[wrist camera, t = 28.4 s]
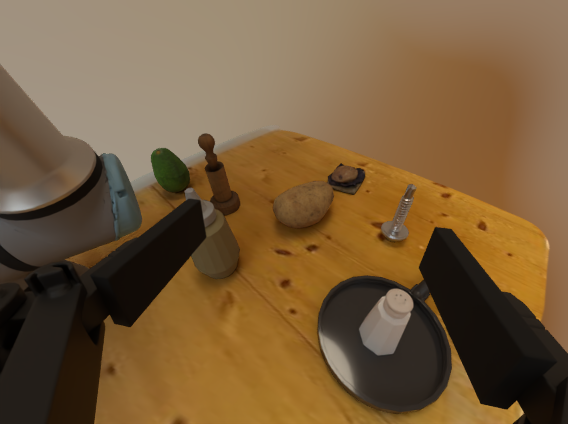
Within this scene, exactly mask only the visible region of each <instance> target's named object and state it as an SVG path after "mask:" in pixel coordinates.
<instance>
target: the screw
mask: <svg viewBox="0 0 568 424" xmlns="http://www.w3.org/2000/svg"><path fill="white" fill-rule="evenodd" d="M415 191H416V187H415V186H414V185H413V184H409V185H408V187H407V189H406V192H405V195H404V196H402V198H401V201H400V204H399V206H398V209H397V211H396V214H395V216H394V218H393V221H387V222H385V223H384V224H383V225H382V227H381V231H382V233H383V235H384V236H386V239H387V240H389V241H392V242H396V241H402V240H404V239H406V238H407V236H408V234H409V232H408V229H407V228H406V227H405V226H404V225H403V224H404V221H405V219H406V217H407V214H408V212H409V210H410V207H411V205H412V202H413V199H414V197H413V195H414V193H415Z"/></svg>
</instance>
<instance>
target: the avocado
mask: <svg viewBox="0 0 568 424" xmlns="http://www.w3.org/2000/svg"><path fill="white" fill-rule="evenodd" d="M151 162H152V167H153V171H154V175H155V177H156V179H157V181H158V183H159V184H160V185H161V186H162V187H163V188H164V189H165V190H167V191H169V192H179V191H182V190H184V189H185V188H186V187H187V186H188V184H189V183H190V175H189V171H188V169H187V167H186V165H185V164H184V163H183V162H182V161H181V160H180V159H179V158H178V157H177V156H176V155H175V154H174V153H172V152H171V151H170V150H168V149H166V148H158V149H156V150H155V151H153V153H152V155H151Z"/></svg>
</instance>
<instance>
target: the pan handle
mask: <svg viewBox="0 0 568 424" xmlns="http://www.w3.org/2000/svg"><path fill="white" fill-rule="evenodd" d="M410 291H411V292H412V293H413V295H411V294H412V293H411V294H410V293H409V292H410ZM410 291H409V292H408V294H410V297H411V298H412V299H413V300H414V301H415V302H416V301H417V303H418V304H419V305H420V303H421V302H420V301H419V300H418V299H422V300H423V301H425V300H426V299H427V298H428V296H429V295H430V294H429V293H430V291H429V289H428V287H427V285H426V282H425V280H423V281H422V282H421V283H420V284H416V285H415V286H414V287H413V288H412V289H411V290H410ZM416 298H418V299H416ZM417 303H416V304H417Z"/></svg>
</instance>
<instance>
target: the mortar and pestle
mask: <svg viewBox="0 0 568 424" xmlns="http://www.w3.org/2000/svg"><path fill="white" fill-rule="evenodd" d="M198 144H199V146H200V147H201V148H202V149H203V150H204V151H205V152H206V157H205V159H206V161H207V162H208V165H206V167H205V171H206V174H207V176H208V179H209V182H210V185H211V188H212V191H213V194H214V195H213V196H212V198H211V200H210V202H211V203H212V204H213V206H214V208H215V209H216V210H219V211H220V212H221V213H223V215H228V214H231V213H233V212H235V211H236V210H237V209H238V208H239V206H240V200H239V197H238V194H237V193H236V192H234V191H231V190H230V186H229V183H228V179H227V176H226V172H225V169H224V165H223V163H222V162H218V161H217V155H216V154H214V153H213V148H214V145H215V141H214V138H213V137H212V136H211V135H210V134H202V135H201V136H200V137H199V139H198Z"/></svg>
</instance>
